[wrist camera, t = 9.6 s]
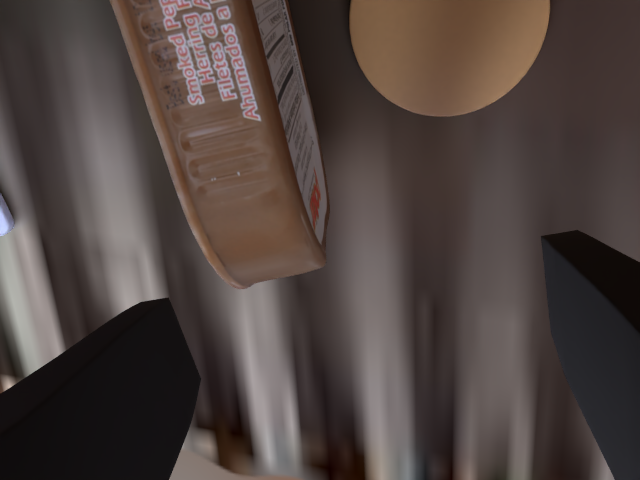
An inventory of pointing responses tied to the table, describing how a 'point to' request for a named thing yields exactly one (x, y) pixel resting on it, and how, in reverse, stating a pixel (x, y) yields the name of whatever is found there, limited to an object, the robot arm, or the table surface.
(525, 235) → the table surface
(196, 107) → the tin
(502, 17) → the cork coaster
